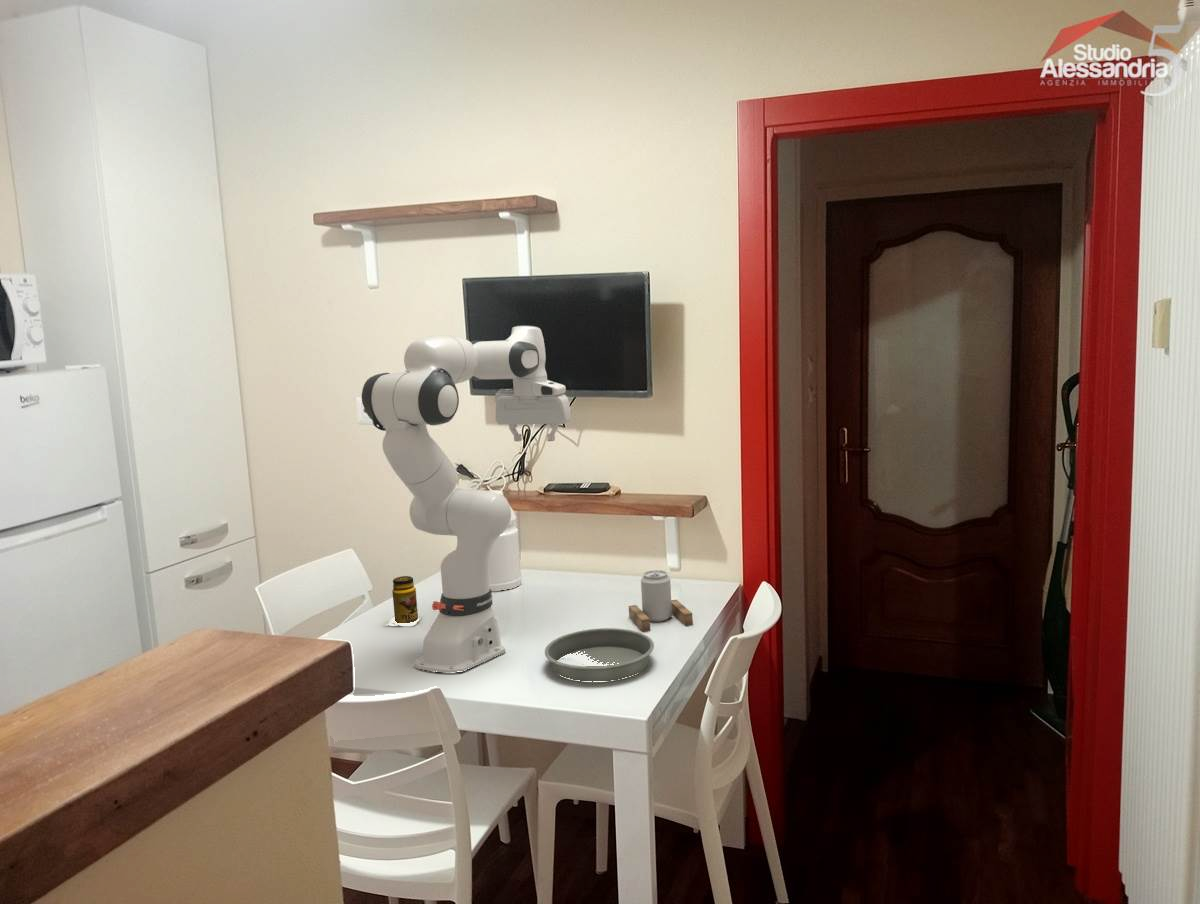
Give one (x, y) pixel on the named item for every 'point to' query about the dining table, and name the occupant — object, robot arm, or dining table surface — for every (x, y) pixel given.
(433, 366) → the robot arm
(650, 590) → the can
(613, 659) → the cake pan
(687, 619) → the parallel wooden bars
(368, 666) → the dining table surface
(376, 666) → the dining table surface
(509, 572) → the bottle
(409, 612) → the condiment
